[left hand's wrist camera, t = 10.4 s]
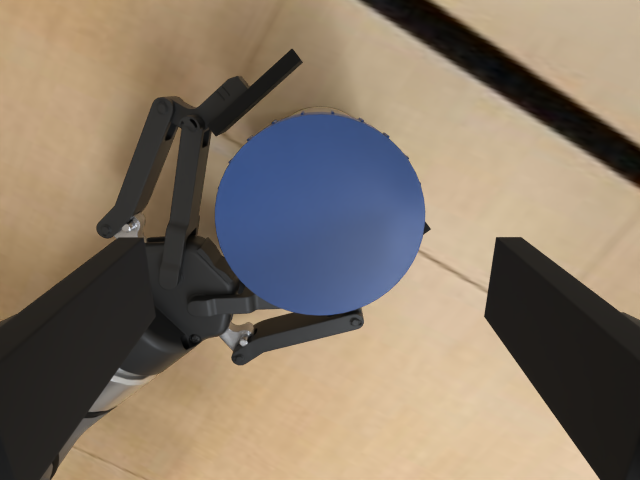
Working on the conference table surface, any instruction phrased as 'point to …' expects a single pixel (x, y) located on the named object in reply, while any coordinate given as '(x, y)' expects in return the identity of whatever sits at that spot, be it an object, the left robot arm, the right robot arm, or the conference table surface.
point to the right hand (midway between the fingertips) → (364, 141)
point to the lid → (319, 213)
